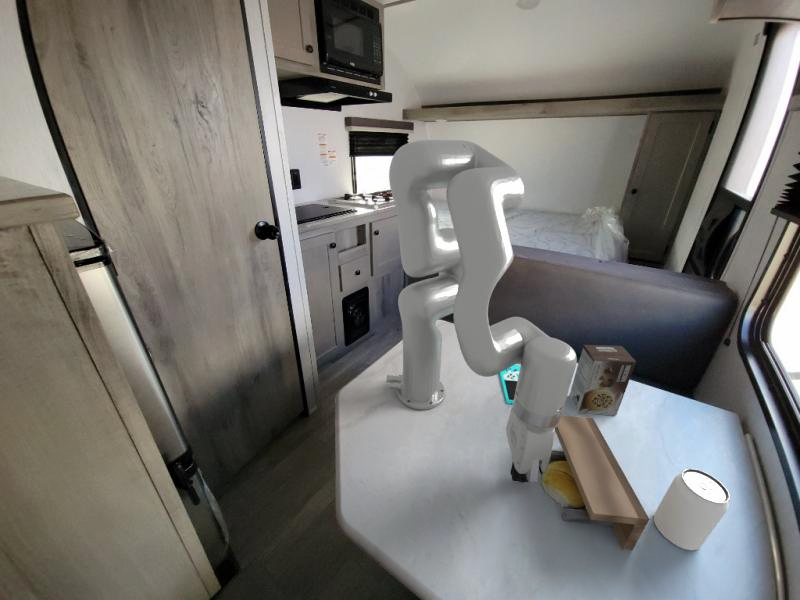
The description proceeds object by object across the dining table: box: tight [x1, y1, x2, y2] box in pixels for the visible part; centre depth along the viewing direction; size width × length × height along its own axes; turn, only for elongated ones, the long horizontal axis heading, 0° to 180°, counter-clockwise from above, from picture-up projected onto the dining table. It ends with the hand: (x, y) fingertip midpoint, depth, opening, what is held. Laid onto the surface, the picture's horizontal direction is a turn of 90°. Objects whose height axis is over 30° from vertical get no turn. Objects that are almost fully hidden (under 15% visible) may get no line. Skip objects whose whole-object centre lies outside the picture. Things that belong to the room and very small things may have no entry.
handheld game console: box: [498, 364, 521, 406], centre depth 88 cm, size 10×16×1 cm, turn 173°
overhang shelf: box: [549, 414, 650, 551], centre depth 59 cm, size 10×20×8 cm, turn 174°
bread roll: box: [541, 461, 586, 509], centre depth 61 cm, size 8×9×4 cm
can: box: [653, 467, 731, 551], centre depth 52 cm, size 6×6×12 cm
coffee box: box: [569, 344, 637, 416], centre depth 77 cm, size 9×6×16 cm
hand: (519, 477), depth 62 cm, fingers closed
